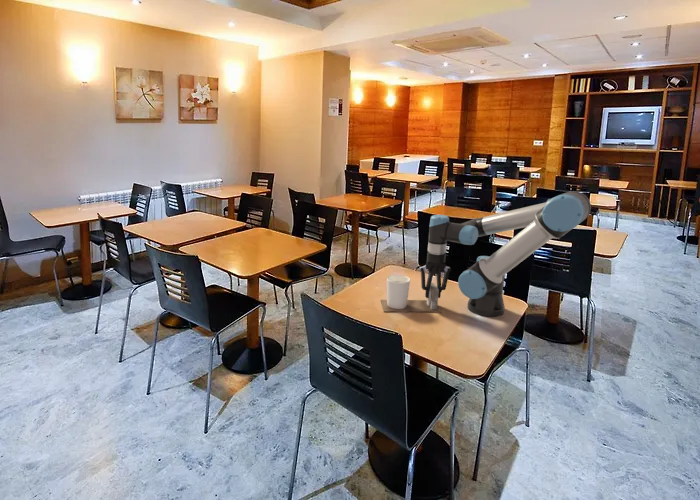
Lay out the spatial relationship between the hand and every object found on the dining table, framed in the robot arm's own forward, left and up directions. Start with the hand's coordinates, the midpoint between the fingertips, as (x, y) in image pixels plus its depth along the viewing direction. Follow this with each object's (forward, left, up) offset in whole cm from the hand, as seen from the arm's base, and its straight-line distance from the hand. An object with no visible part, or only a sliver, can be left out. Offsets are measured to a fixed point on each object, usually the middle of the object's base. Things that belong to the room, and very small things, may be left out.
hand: (432, 304), depth 190 cm
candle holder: (+14, +6, -1) cm, 15 cm away
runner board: (+9, +4, -1) cm, 10 cm away
